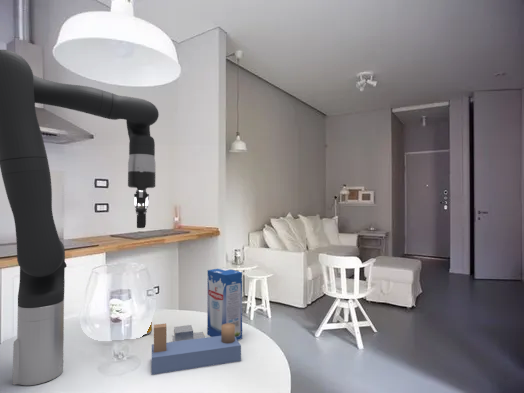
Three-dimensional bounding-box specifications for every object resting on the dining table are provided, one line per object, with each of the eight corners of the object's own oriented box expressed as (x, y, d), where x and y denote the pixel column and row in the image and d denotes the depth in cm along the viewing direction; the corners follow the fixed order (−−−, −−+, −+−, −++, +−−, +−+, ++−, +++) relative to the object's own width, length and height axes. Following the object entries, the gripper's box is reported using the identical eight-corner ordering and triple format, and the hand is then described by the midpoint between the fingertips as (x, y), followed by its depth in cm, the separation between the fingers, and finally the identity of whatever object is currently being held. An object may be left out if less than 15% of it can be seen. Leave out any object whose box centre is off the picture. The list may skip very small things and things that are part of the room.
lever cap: (173, 349, 93) (173, 333, 94) (172, 342, 98) (172, 327, 98) (205, 344, 96) (205, 329, 96) (202, 338, 101) (202, 323, 101)
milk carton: (207, 334, 104) (207, 270, 104) (223, 329, 108) (223, 267, 108) (225, 344, 96) (225, 275, 97) (242, 338, 100) (242, 272, 101)
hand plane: (151, 374, 79) (151, 332, 79) (151, 360, 86) (151, 321, 87) (240, 361, 86) (240, 322, 86) (233, 348, 93) (233, 312, 94)
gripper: (129, 173, 102) (129, 225, 101) (126, 168, 88) (125, 229, 88) (155, 173, 104) (154, 225, 104) (155, 169, 91) (155, 228, 90)
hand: (141, 227), depth 96 cm, fingers open, 8 cm apart
